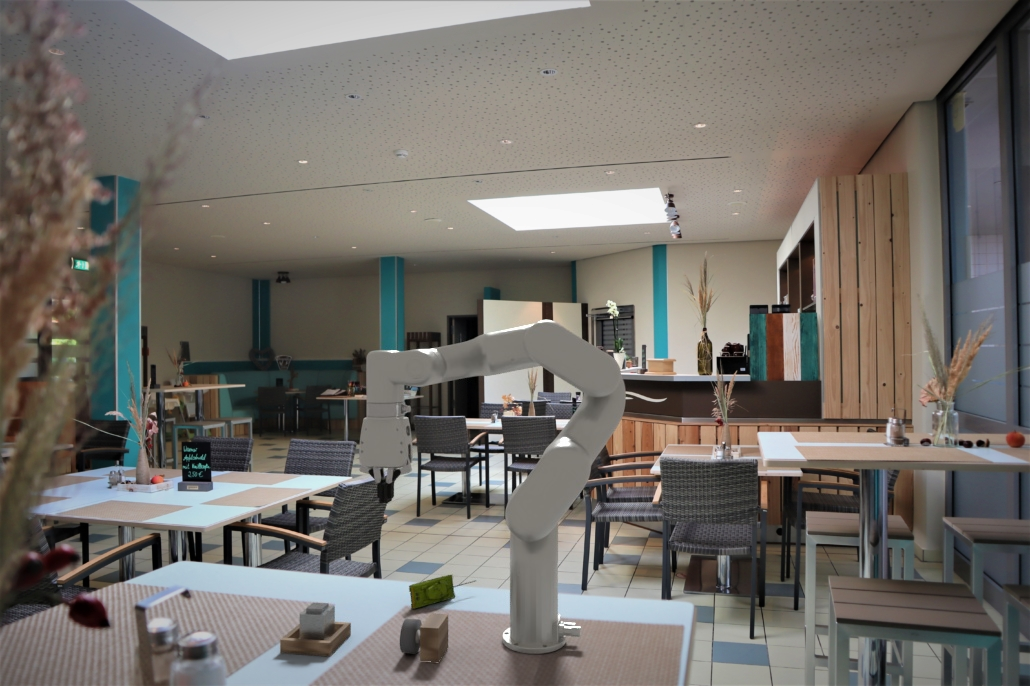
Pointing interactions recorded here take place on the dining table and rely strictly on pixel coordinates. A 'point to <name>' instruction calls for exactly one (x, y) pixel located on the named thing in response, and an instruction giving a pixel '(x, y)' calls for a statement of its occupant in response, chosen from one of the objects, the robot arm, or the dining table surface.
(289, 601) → the dining table surface
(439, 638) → the block
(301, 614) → the block
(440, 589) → the toy tank
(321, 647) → the tray
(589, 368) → the robot arm
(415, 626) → the wheel
